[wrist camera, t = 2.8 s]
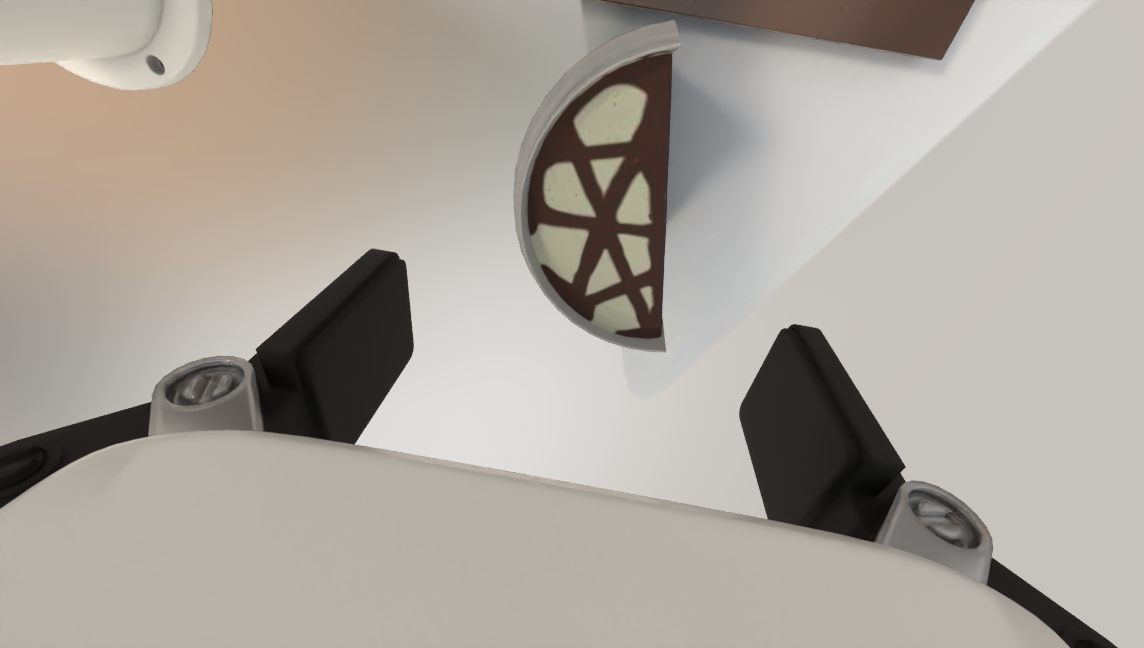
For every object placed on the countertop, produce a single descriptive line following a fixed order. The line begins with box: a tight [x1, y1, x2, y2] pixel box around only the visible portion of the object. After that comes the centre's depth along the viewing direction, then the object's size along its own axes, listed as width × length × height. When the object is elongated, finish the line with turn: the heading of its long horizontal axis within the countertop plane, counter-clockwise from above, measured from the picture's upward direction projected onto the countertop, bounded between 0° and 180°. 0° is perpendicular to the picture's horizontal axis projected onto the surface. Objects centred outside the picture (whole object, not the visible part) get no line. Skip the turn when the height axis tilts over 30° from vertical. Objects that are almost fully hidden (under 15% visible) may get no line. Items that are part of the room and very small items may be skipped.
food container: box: [514, 20, 681, 352], centre depth 20 cm, size 12×6×10 cm, turn 5°
